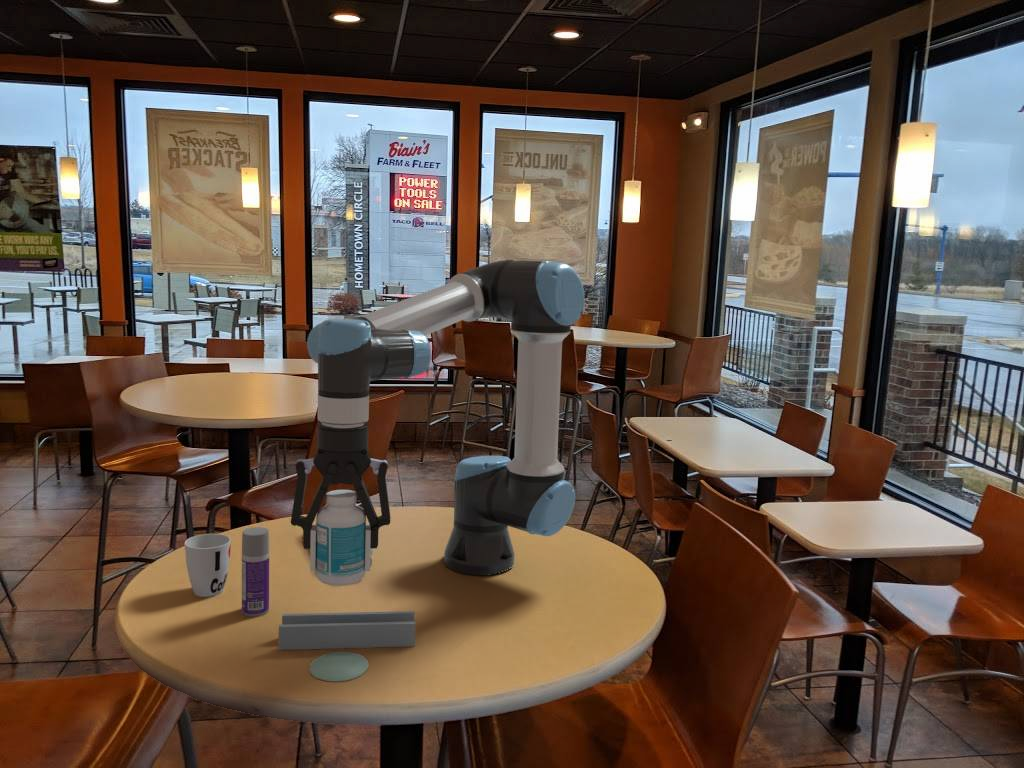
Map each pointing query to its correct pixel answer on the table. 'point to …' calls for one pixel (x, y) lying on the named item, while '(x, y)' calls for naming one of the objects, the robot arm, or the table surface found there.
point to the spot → (338, 666)
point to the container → (255, 571)
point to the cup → (208, 563)
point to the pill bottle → (340, 539)
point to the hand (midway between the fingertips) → (340, 567)
